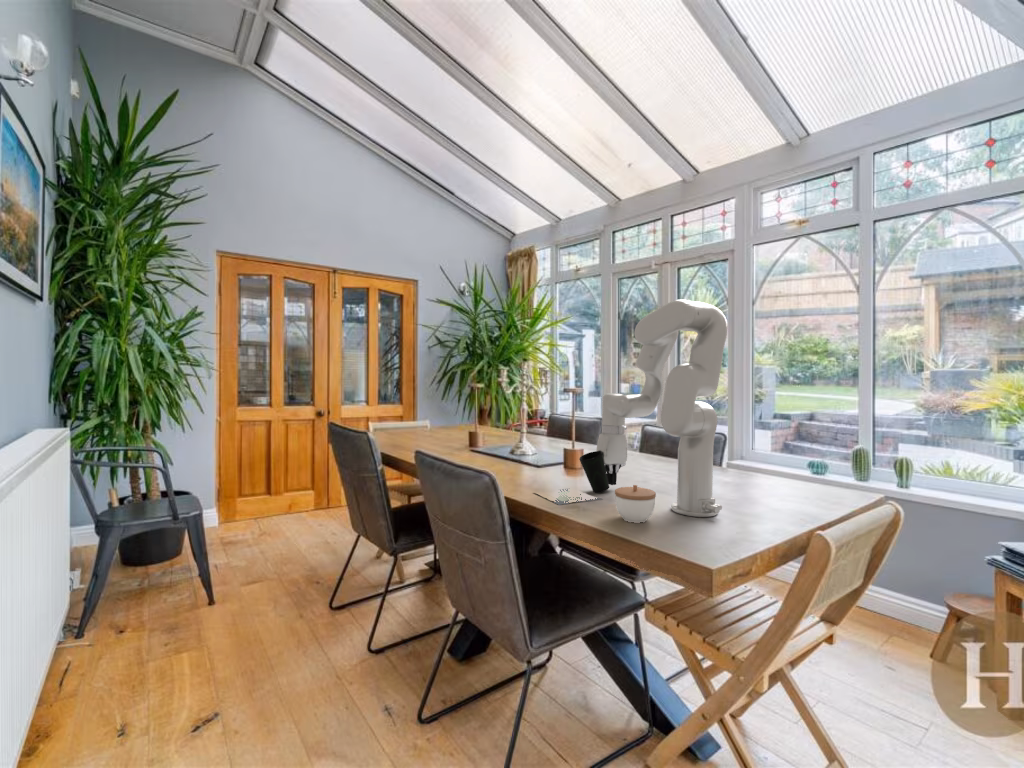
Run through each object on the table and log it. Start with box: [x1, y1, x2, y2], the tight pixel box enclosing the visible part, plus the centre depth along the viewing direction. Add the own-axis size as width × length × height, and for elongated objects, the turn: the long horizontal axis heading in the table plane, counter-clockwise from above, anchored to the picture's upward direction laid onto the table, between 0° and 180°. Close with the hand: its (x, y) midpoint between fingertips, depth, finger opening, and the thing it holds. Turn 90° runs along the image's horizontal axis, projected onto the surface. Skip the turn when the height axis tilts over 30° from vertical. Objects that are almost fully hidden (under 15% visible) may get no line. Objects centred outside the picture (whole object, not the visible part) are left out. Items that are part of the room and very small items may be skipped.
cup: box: [579, 451, 610, 494], centre depth 166 cm, size 8×8×12 cm
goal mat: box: [553, 488, 602, 506], centre depth 160 cm, size 16×16×1 cm
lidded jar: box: [614, 484, 657, 524], centre depth 136 cm, size 11×11×9 cm
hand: (611, 483), depth 169 cm, fingers closed
